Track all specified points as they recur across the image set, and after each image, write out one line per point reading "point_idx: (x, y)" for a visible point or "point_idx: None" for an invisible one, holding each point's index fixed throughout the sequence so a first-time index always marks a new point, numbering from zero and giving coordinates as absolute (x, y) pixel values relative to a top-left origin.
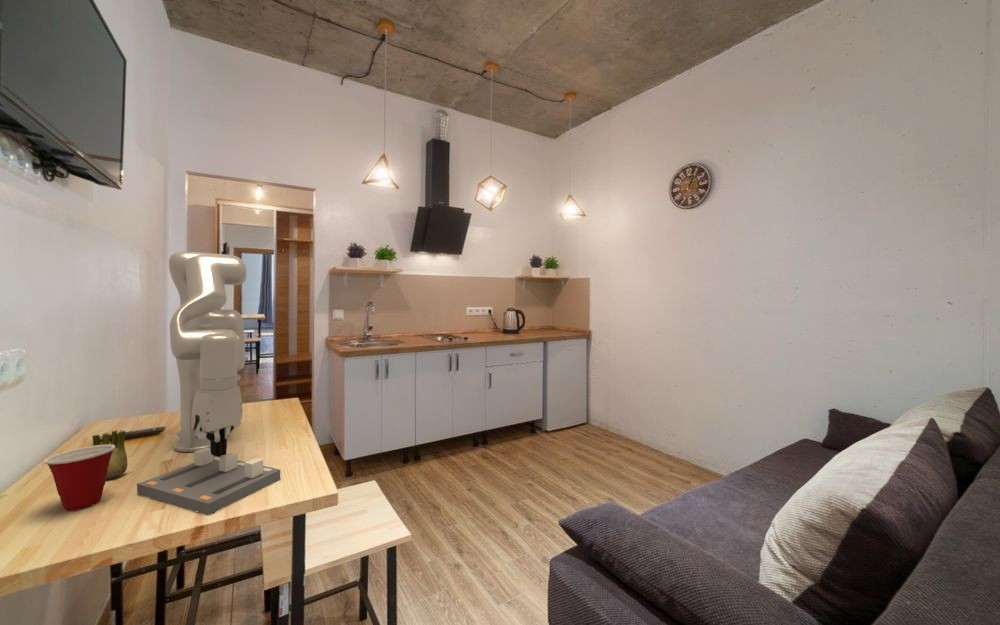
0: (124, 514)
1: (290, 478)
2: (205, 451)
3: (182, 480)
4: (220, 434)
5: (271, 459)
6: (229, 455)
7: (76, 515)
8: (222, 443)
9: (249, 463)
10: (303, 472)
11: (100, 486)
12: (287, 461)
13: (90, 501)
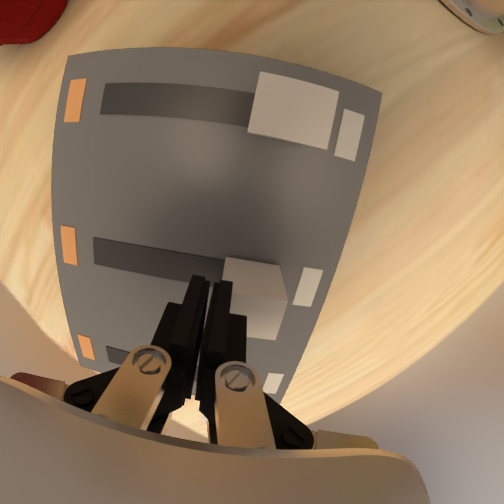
0: (18, 164)
1: (284, 395)
2: (279, 138)
3: (117, 184)
4: (213, 405)
5: (412, 278)
6: (250, 322)
7: (6, 68)
8: (192, 388)
9: (203, 416)
10: (319, 398)
11: (13, 33)
12: (392, 330)
13: (21, 43)
